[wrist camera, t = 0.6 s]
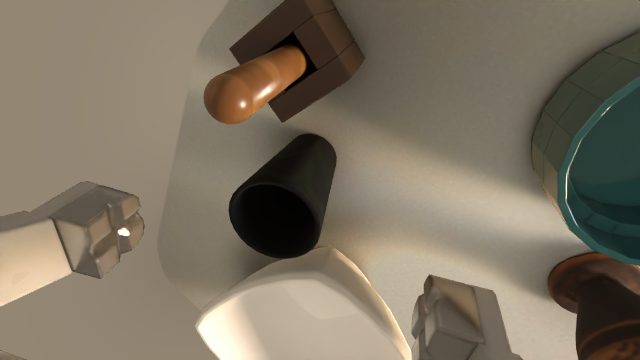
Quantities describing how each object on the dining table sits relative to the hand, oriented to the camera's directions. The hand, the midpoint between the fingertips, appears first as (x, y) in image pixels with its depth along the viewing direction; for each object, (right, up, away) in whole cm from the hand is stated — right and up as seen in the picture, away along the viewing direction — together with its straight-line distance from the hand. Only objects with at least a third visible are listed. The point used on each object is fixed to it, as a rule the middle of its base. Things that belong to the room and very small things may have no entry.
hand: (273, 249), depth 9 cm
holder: (+1, +14, +22) cm, 26 cm away
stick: (+1, +14, +22) cm, 26 cm away
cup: (0, +4, +27) cm, 28 cm away
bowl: (+2, -12, +36) cm, 38 cm away
